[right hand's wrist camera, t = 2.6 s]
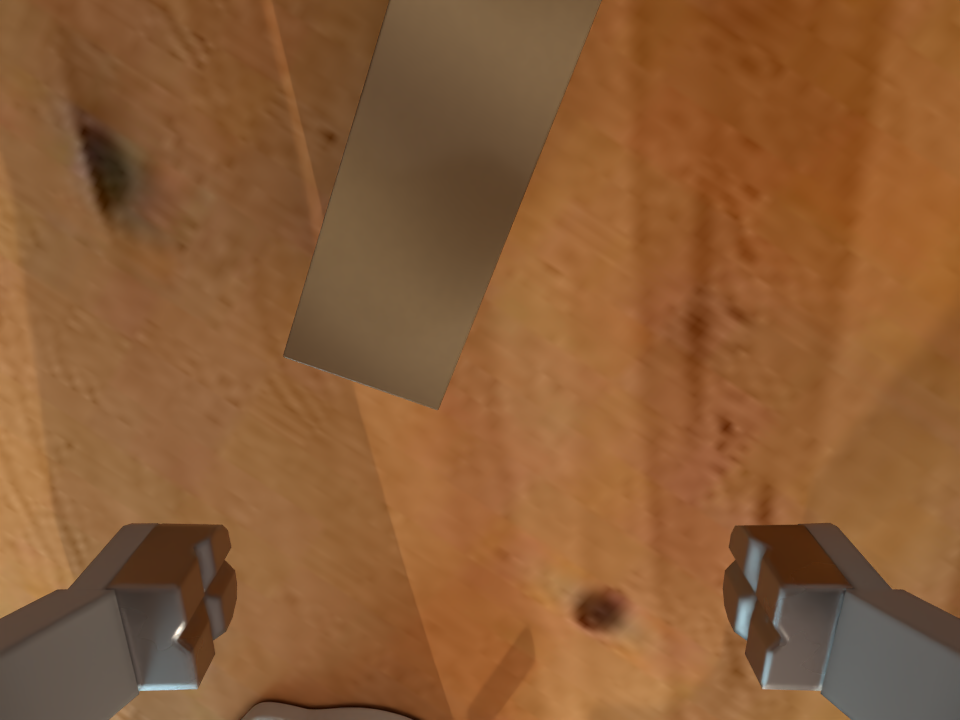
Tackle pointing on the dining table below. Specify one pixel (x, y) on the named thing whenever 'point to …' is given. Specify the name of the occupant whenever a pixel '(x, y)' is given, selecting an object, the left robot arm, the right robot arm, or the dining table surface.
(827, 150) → the dining table surface
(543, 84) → the cabinet
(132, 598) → the right robot arm
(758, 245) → the dining table surface
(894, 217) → the dining table surface
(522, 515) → the dining table surface
